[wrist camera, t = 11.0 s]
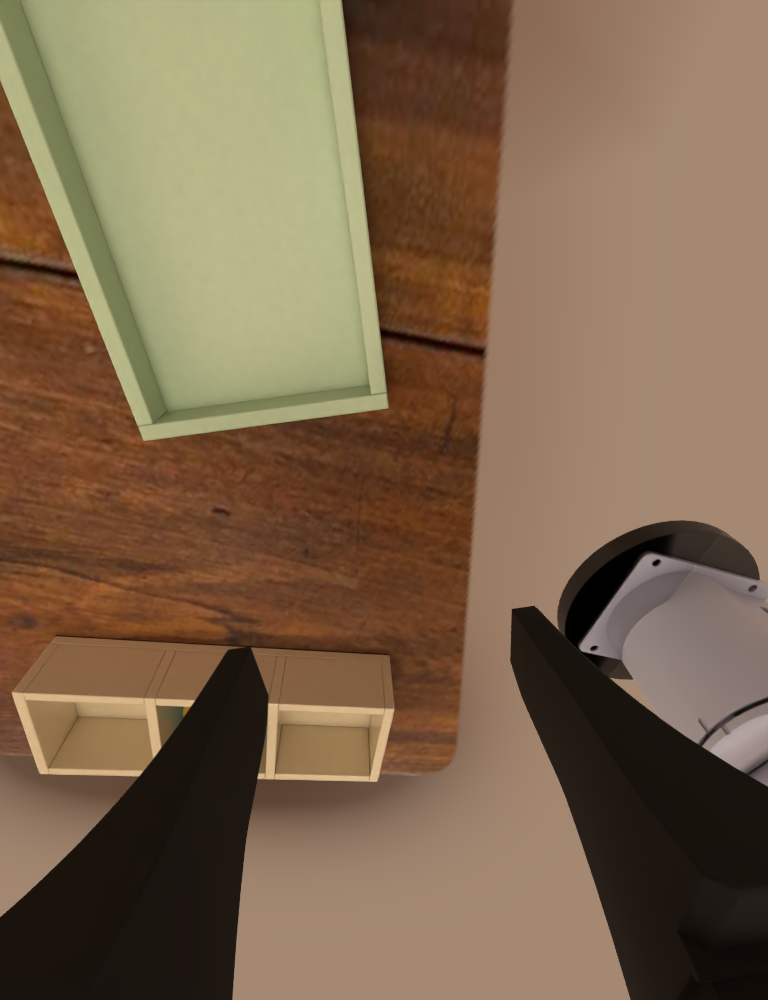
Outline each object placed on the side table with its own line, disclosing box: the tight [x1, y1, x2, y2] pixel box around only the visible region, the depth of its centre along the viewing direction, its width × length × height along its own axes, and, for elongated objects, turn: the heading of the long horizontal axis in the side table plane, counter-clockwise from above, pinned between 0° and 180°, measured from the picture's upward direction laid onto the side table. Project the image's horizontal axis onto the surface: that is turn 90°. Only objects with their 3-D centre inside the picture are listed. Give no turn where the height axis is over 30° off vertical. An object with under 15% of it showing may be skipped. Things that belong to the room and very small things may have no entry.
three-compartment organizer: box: [12, 636, 395, 782], centre depth 25 cm, size 18×6×4 cm, turn 82°
